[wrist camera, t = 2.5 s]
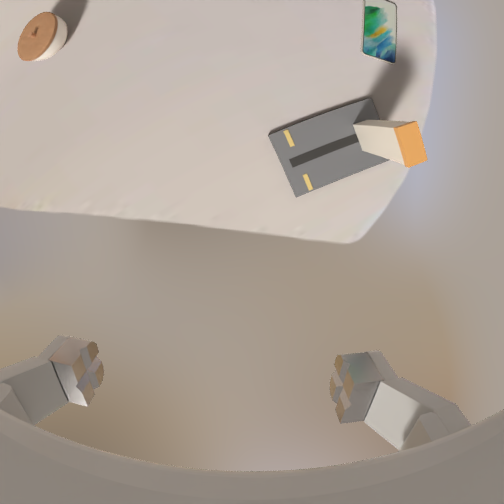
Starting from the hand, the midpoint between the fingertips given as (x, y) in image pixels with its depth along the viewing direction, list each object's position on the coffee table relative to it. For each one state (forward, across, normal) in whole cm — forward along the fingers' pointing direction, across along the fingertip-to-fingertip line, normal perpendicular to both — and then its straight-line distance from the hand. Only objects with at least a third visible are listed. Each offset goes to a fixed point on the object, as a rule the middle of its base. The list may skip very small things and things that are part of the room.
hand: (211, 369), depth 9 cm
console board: (+42, -16, -12) cm, 47 cm away
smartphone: (+39, -24, -37) cm, 59 cm away
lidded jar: (+40, +40, -37) cm, 67 cm away
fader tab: (+41, -21, -14) cm, 48 cm away
